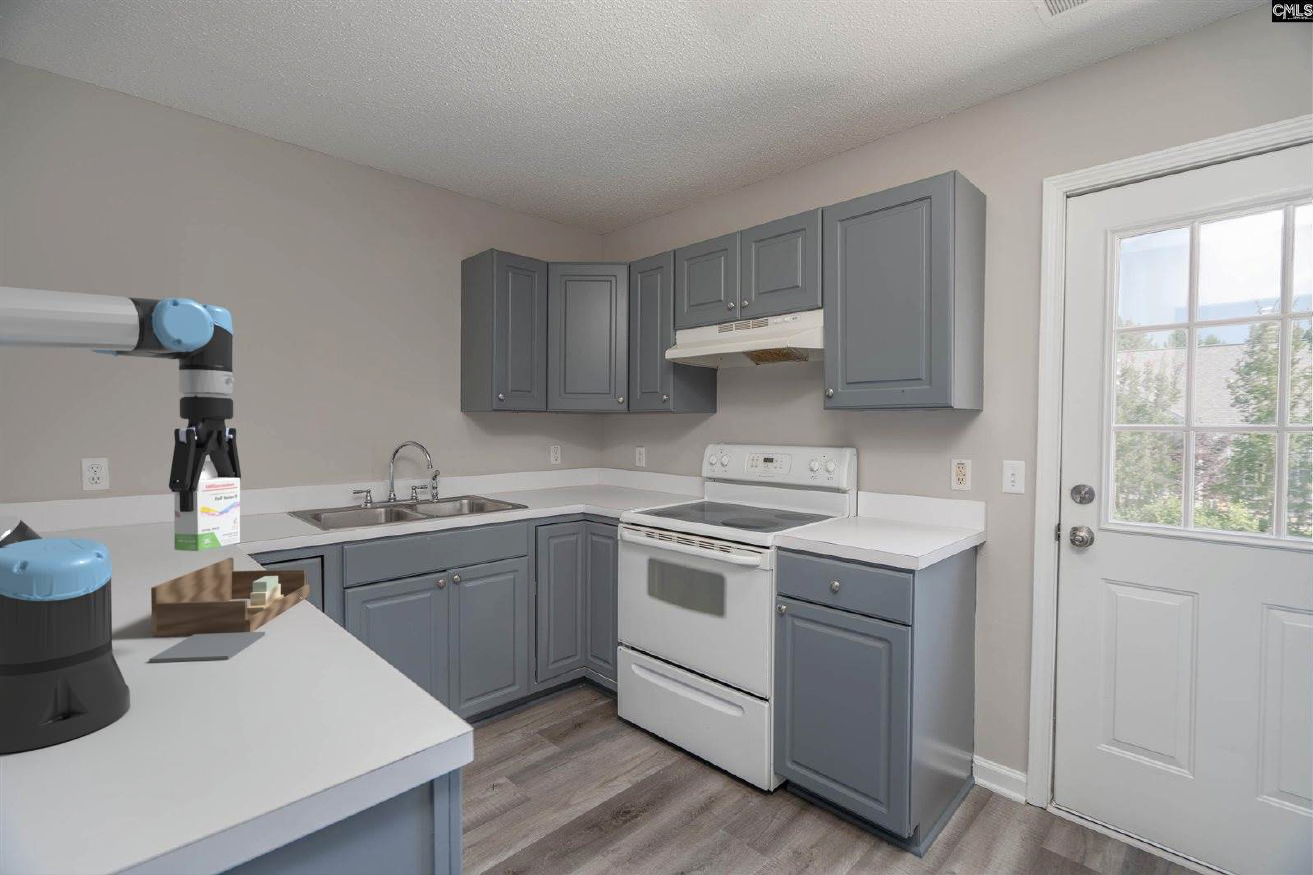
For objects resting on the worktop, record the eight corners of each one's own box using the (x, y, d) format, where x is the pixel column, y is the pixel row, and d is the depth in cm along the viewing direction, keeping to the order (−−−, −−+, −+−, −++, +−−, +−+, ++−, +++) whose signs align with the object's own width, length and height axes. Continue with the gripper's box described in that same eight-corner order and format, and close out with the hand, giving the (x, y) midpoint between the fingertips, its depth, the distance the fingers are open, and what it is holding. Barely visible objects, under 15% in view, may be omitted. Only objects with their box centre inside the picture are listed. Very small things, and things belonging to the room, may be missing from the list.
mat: (228, 659, 103) (228, 655, 103) (149, 662, 101) (149, 659, 101) (264, 634, 115) (264, 631, 115) (194, 637, 113) (194, 634, 113)
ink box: (198, 552, 103) (196, 463, 103) (173, 550, 104) (172, 462, 104) (242, 542, 111) (241, 460, 111) (219, 541, 112) (218, 459, 112)
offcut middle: (265, 605, 125) (265, 592, 125) (250, 605, 124) (250, 593, 124) (280, 595, 131) (280, 583, 131) (266, 596, 131) (266, 584, 131)
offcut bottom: (263, 622, 123) (263, 607, 123) (247, 622, 123) (247, 607, 123) (283, 608, 132) (283, 594, 132) (268, 609, 132) (268, 595, 132)
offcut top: (266, 591, 125) (266, 581, 125) (252, 592, 125) (252, 582, 125) (278, 585, 130) (278, 575, 130) (264, 585, 130) (264, 576, 130)
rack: (250, 633, 116) (249, 585, 116) (152, 636, 114) (151, 587, 114) (309, 595, 141) (309, 556, 141) (230, 597, 139) (229, 557, 139)
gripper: (190, 393, 97) (192, 537, 97) (262, 399, 119) (263, 516, 119) (137, 393, 96) (140, 538, 96) (220, 398, 118) (221, 517, 118)
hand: (208, 526), depth 108 cm, fingers closed on ink box, 9 cm apart
